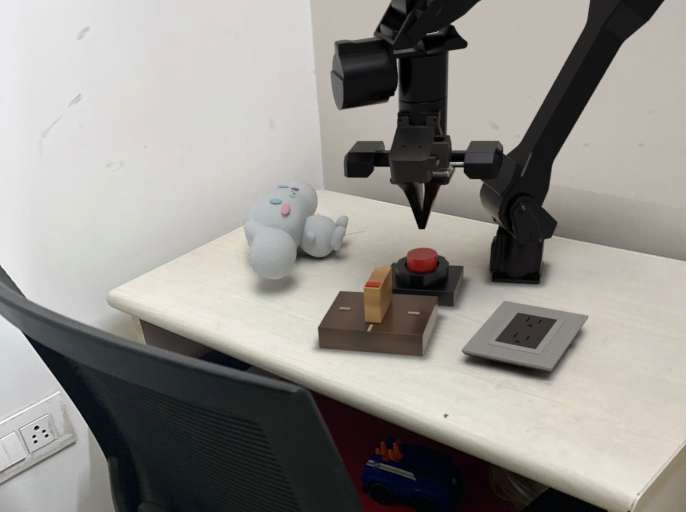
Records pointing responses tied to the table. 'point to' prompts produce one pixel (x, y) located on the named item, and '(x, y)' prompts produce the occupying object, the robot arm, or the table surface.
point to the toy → (288, 229)
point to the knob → (378, 294)
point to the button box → (428, 281)
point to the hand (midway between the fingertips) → (422, 228)
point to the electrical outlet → (525, 336)
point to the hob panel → (379, 325)
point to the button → (422, 259)
